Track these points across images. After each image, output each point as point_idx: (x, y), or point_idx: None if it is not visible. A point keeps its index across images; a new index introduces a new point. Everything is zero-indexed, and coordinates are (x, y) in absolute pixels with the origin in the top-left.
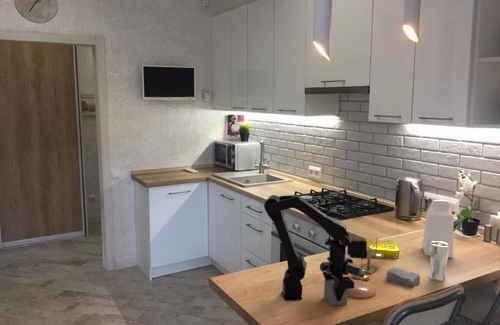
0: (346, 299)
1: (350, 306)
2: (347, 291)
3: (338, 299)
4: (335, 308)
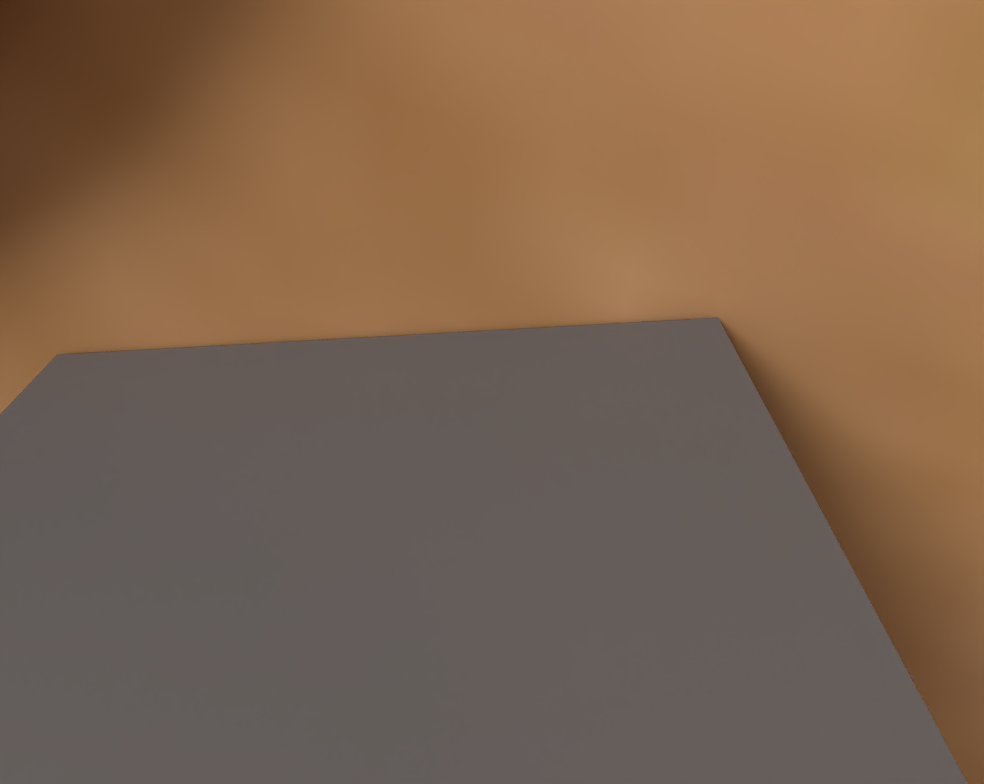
0: (770, 448)
1: (924, 250)
2: (959, 775)
3: None
4: None
